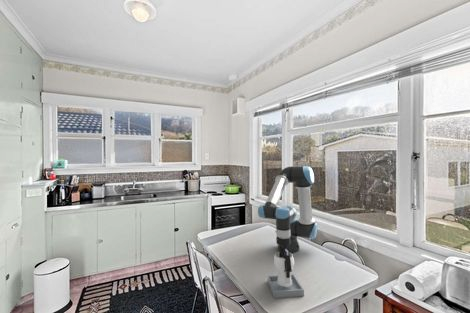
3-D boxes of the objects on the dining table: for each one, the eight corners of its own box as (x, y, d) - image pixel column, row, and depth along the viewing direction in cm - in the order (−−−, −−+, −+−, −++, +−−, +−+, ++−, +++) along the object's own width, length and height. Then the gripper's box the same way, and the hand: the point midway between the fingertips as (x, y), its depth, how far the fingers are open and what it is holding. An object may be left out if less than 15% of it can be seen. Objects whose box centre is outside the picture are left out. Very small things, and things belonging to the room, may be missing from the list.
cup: (291, 277, 128) (290, 250, 128) (297, 287, 117) (296, 258, 117) (272, 278, 127) (272, 251, 128) (277, 288, 117) (276, 259, 117)
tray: (267, 281, 130) (267, 275, 130) (293, 279, 131) (293, 274, 131) (274, 298, 114) (274, 291, 114) (304, 295, 115) (303, 289, 115)
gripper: (271, 230, 134) (272, 267, 134) (282, 245, 111) (283, 290, 111) (284, 229, 134) (284, 266, 134) (297, 244, 111) (298, 289, 111)
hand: (284, 277), depth 122 cm, fingers closed on cup, 11 cm apart
